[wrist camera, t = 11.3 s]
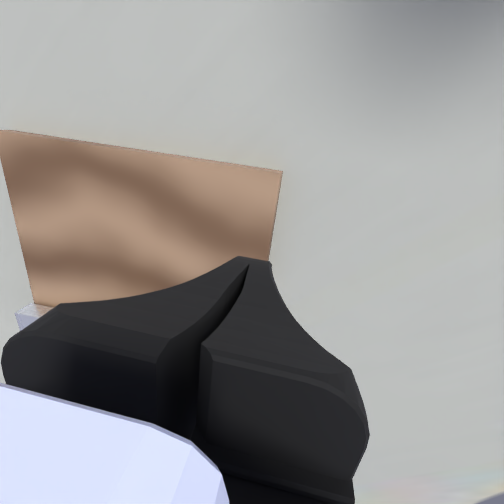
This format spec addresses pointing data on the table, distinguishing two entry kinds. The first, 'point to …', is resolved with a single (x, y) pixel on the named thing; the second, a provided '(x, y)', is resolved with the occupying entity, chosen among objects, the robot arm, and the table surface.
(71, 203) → the base plate
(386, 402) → the table surface
